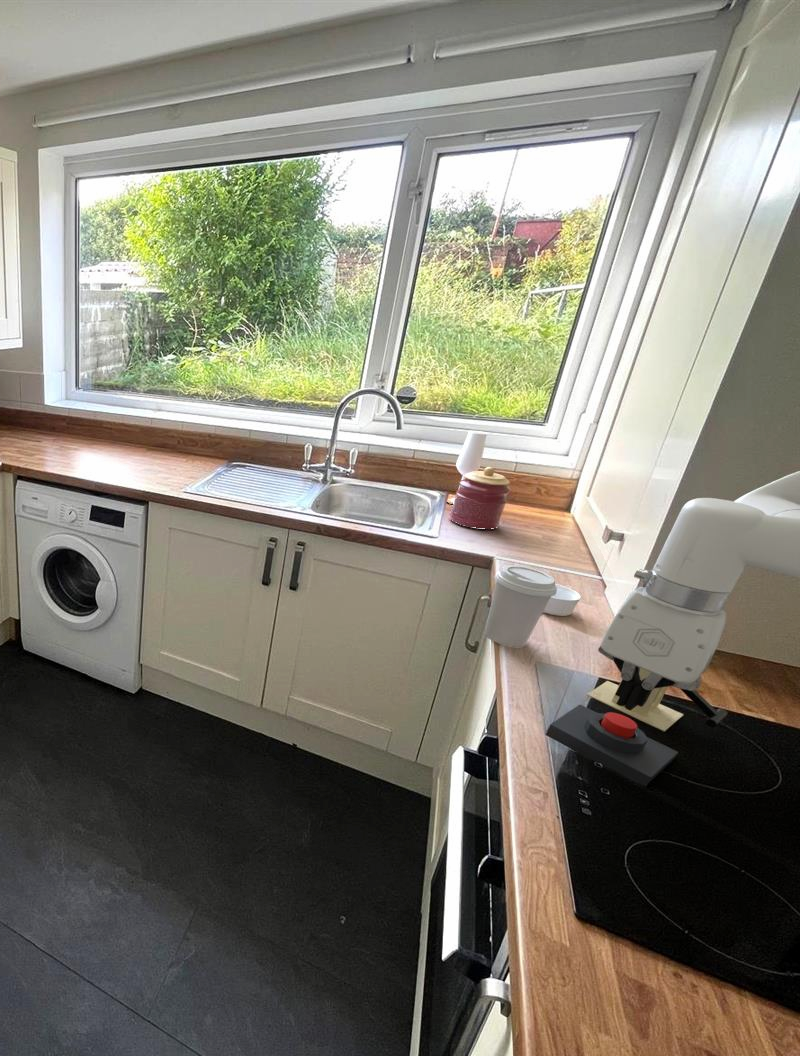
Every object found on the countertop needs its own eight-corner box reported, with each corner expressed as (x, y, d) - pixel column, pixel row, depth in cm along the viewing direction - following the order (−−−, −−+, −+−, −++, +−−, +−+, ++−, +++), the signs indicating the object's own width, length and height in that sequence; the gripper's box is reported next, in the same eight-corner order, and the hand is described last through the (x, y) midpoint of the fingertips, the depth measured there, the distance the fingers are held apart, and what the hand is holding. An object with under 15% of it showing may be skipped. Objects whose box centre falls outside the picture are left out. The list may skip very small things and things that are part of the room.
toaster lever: (717, 719, 88) (734, 713, 87) (705, 729, 86) (723, 723, 84) (647, 651, 94) (662, 644, 92) (635, 659, 92) (650, 652, 90)
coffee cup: (463, 628, 118) (486, 562, 112) (511, 631, 118) (536, 564, 112) (493, 655, 109) (519, 584, 103) (544, 658, 109) (574, 587, 103)
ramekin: (528, 611, 125) (535, 594, 124) (520, 594, 133) (526, 577, 131) (579, 622, 122) (586, 603, 120) (567, 603, 129) (574, 586, 128)
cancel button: (636, 733, 84) (641, 723, 84) (626, 741, 83) (631, 732, 82) (606, 718, 87) (611, 709, 87) (596, 726, 86) (600, 716, 85)
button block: (672, 763, 84) (684, 742, 83) (644, 789, 79) (656, 767, 78) (574, 715, 94) (584, 694, 92) (545, 735, 89) (554, 714, 87)
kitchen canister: (442, 521, 176) (458, 465, 170) (455, 512, 185) (472, 458, 178) (491, 534, 168) (510, 476, 161) (503, 524, 176) (522, 468, 169)
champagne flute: (464, 501, 196) (486, 431, 186) (470, 508, 190) (493, 435, 180) (442, 499, 197) (462, 429, 188) (448, 505, 191) (469, 433, 182)
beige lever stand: (680, 720, 93) (714, 659, 89) (661, 737, 89) (695, 673, 85) (604, 686, 101) (631, 628, 96) (584, 700, 97) (611, 640, 93)
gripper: (603, 574, 80) (555, 683, 87) (756, 625, 69) (686, 746, 76) (625, 564, 84) (577, 670, 91) (774, 611, 72) (706, 728, 79)
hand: (627, 704), depth 83 cm, fingers closed
